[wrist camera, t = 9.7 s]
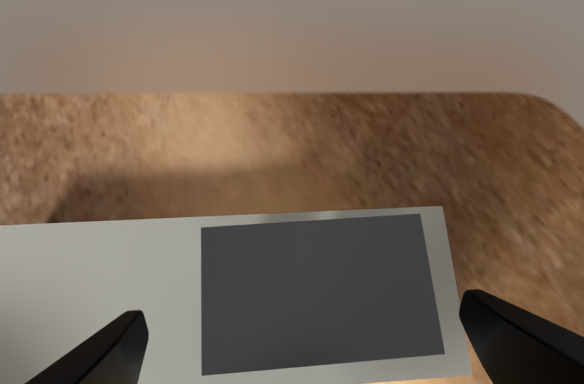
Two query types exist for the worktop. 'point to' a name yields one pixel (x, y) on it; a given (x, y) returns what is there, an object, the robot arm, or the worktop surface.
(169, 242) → the white slotted block
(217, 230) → the clip
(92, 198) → the worktop surface
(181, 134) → the worktop surface
